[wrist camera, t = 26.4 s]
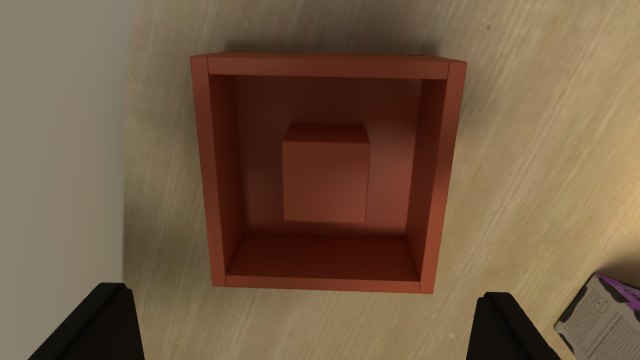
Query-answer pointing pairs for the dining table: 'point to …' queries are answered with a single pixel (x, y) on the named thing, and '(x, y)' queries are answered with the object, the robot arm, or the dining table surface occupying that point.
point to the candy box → (603, 321)
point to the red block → (325, 172)
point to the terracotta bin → (329, 108)
